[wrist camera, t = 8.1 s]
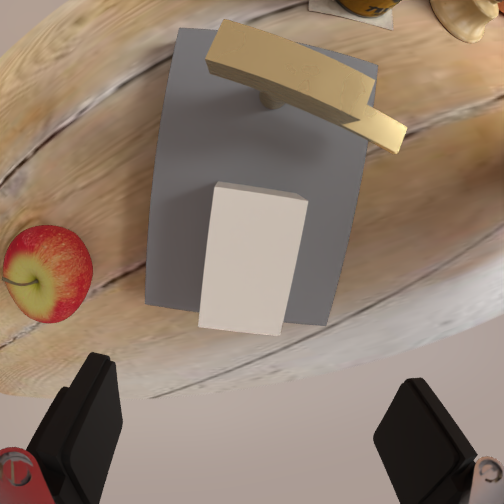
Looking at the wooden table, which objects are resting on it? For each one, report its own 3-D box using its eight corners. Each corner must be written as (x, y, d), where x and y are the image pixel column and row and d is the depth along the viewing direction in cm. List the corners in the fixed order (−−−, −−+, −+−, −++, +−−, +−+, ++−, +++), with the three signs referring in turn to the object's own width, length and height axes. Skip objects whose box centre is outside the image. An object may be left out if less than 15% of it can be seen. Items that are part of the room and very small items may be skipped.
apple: (81, 199, 26) (18, 223, 16) (121, 279, 28) (77, 333, 19) (26, 235, 26) (-36, 268, 17) (63, 306, 29) (15, 357, 19)
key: (227, 65, 20) (223, 18, 12) (377, 128, 22) (441, 121, 14) (216, 93, 21) (204, 58, 13) (367, 154, 23) (429, 159, 14)
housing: (364, 72, 24) (378, 65, 21) (318, 310, 30) (326, 326, 27) (184, 40, 22) (179, 27, 19) (152, 289, 29) (145, 304, 26)
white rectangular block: (296, 193, 24) (308, 201, 20) (273, 311, 27) (279, 336, 23) (218, 181, 23) (214, 186, 19) (202, 302, 26) (198, 326, 22)
